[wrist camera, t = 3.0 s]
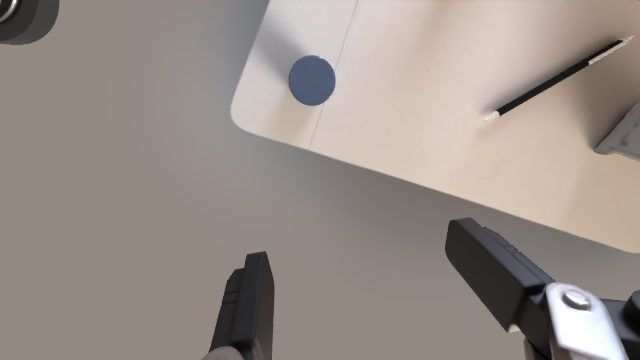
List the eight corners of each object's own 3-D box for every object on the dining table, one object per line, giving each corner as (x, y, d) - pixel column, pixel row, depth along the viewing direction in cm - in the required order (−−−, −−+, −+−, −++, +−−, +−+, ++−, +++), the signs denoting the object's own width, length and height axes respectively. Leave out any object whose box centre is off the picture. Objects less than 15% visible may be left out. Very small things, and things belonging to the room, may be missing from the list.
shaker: (286, 91, 30) (281, 93, 21) (299, 57, 29) (299, 46, 20) (316, 105, 31) (323, 113, 22) (330, 73, 30) (343, 68, 21)
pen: (627, 40, 31) (639, 38, 30) (483, 123, 33) (489, 124, 32) (627, 33, 30) (638, 31, 29) (481, 117, 33) (487, 118, 32)
